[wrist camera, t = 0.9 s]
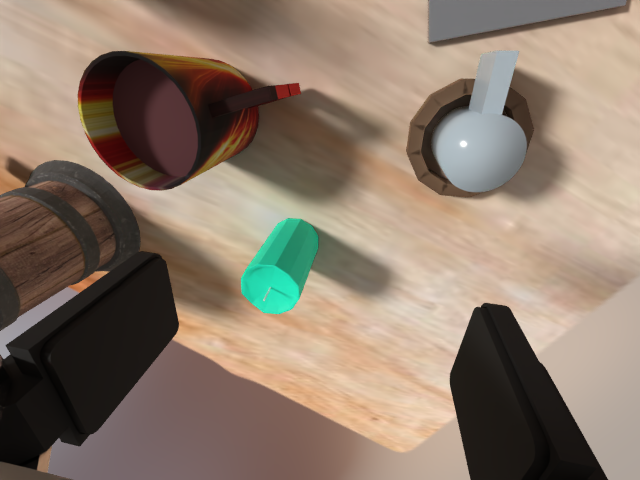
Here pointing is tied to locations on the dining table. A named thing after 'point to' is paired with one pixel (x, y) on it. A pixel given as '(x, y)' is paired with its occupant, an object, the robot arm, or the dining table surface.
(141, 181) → the mug
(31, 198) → the tankard
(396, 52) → the dining table surface
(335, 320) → the dining table surface
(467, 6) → the tile
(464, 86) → the stand
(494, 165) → the jug
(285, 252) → the candle
